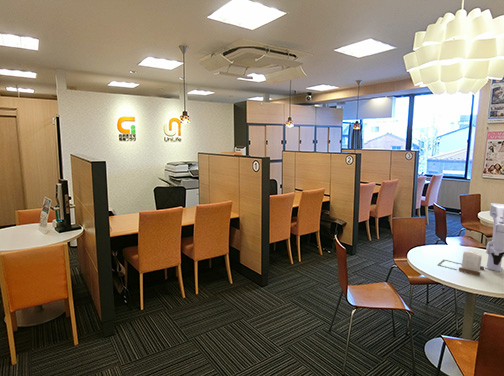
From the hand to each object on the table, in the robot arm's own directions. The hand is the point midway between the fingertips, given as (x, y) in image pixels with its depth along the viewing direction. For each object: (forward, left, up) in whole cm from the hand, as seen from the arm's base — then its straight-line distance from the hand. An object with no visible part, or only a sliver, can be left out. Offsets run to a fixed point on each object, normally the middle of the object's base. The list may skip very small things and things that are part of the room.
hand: (496, 263), depth 192 cm
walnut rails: (0, -13, -8) cm, 15 cm away
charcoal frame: (0, -25, -8) cm, 26 cm away
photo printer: (0, -13, -9) cm, 16 cm away
